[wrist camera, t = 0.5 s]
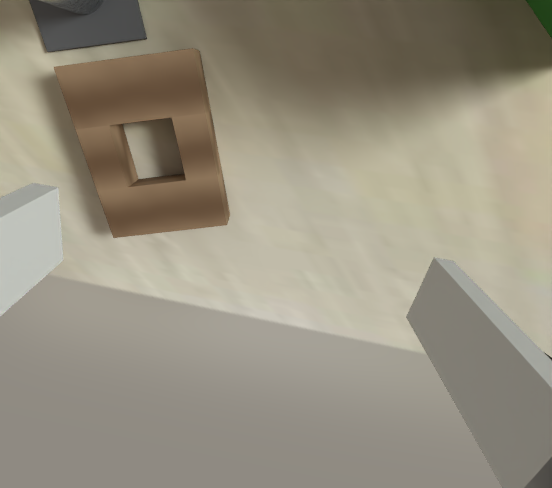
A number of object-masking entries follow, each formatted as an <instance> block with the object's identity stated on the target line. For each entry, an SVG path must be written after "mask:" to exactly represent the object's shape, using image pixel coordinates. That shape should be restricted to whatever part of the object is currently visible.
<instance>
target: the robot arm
mask: <svg viewBox="0 0 552 488" xmlns="http://www.w3.org/2000/svg"><path fill="white" fill-rule="evenodd" d="M62 261H63V249H62V235H61V220H60V206H59V192H58V187H54V186H48V185H43V184H38V183H32V184H30V185H27V186H25V187H23V188H21V189H18V190H16V191H14V192H12V193H10V194H7V195H5V196H3V197H1V198H0V316H1V315H2V314H3V313H5V311H7V310H8V309H9V308H10V307H11V306H12V305H13V304H15V303H16V302H17V301H18V300H19V299H20V298H21V297H23V295H25V294H26V293H27V292H28V291H29V290H30V289H32V288H33V287H34V286H35V285H36V284H37V283H38V282H39V281H41V280H42V279H43V278H44V277H45V276H46V275H47V274H48V273H50V272H51V271H52V270H53V269H54V268H55V267H56V266H57V265H59V264H60V263H61V262H62ZM407 319H408V321H409V323H410V325H411V326H412V328H413V330H414V332H415V333H416V335H417V337H418V339H419V341H420V342H421V344H422V346H423V348H424V349H425V351H426V353H427V355H428V357H429V358H430V360H431V362H432V364H433V365H434V367H435V369H436V371H437V372H438V374H439V376H440V378H441V380H442V381H443V383H444V385H445V387H446V389H447V390H448V392H449V394H450V395H451V397H452V399H453V401H454V403H455V405H456V406H457V408H458V410H459V412H460V413H461V415H462V417H463V419H464V420H465V422H466V424H467V426H468V428H469V429H470V431H471V433H472V435H473V436H474V438H475V440H476V442H477V444H478V445H479V447H480V449H481V450H482V453H483V454H484V456H485V458H486V460H487V461H488V463H489V465H490V467H491V468H492V470H493V472H494V474H495V475H496V477H497V479H498V481H499V483H500V485H501V486H502V488H552V358H551V357H550V356H549V355H547V354H546V353H544V352H543V351H542V350H541V349H540V348H539V347H538V346H537V345H536V344H535V343H534V342H533V341H532V340H531V339H530V338H529V337H528V336H527V335H526V334H525V333H524V332H523V331H522V330H521V329H520V328H519V327H518V326H517V325H516V324H515V323H514V322H513V321H512V320H511V319H510V318H509V317H508V316H507V315H506V314H505V313H504V312H503V311H502V310H501V309H500V308H499V307H498V306H497V304H496V303H495V302H494V301H493V300H492V299H491V298H490V297H489V296H488V295H487V294H486V293H485V292H484V291H483V290H482V289H481V288H480V287H479V286H478V285H477V284H476V283H475V282H474V281H473V280H472V279H471V278H470V277H469V276H468V275H467V274H466V273H465V272H464V271H463V270H462V269H461V268H460V267H459V266H458V265H457V264H456V263H455V262H454V261H451V260H446V259H440V258H435V257H434V258H433V261H432V263H431V265H430V267H429V269H428V271H427V273H426V276H425V278H424V280H423V282H422V284H421V286H420V289H419V291H418V293H417V295H416V297H415V299H414V301H413V304H412V306H411V308H410V310H409V312H408V314H407Z"/></svg>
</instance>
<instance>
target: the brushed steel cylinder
mask: <svg viewBox="0 0 552 488" xmlns="http://www.w3.org/2000/svg"><path fill="white" fill-rule="evenodd" d="M39 1H42V2H45V3H48V4H51V5H54V6H56V7H59V8H62V9H65V10H68V11H71V12H74V13H77V14H81V15H88V14H91V13H93V12H95V11H96V10H98V9H99V7H100V6H101V4H102V2H103V0H39Z"/></svg>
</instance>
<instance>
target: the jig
mask: <svg viewBox="0 0 552 488" xmlns="http://www.w3.org/2000/svg"><path fill="white" fill-rule="evenodd" d="M54 70H55V73H56V76H57V78H58V81H59V84H60V87H61V90H62V93H63V96H64V98H65V101H66V104H67V107H68V110H69V113H70V115H71V118H72V121H73V124H74V127H75V130H76V133H77V135H78V138H79V141H80V144H81V147H82V150H83V152H84V155H85V158H86V161H87V164H88V167H89V170H90V172H91V175H92V178H93V181H94V184H95V187H96V189H97V192H98V195H99V198H100V201H101V204H102V207H103V209H104V212H105V215H106V218H107V221H108V224H109V227H110V229H111V232H112V235H113V238H117V237H126V236H135V235H144V234H152V233H161V232H170V231H179V230H187V229H196V228H205V227H214V226H222V225H227V223H228V220H229V216H230V212H229V207H228V201H227V196H226V191H225V185H224V180H223V174H222V169H221V164H220V158H219V153H218V147H217V142H216V137H215V131H214V126H213V120H212V115H211V110H210V104H209V99H208V93H207V88H206V83H205V77H204V72H203V66H202V61H201V56H200V51H198V50H196V49H193V48H192V49H184V50H177V51H170V52H162V53H155V54H147V55H140V56H132V57H125V58H117V59H110V60H102V61H95V62H87V63H80V64H72V65H65V66H58V67H54ZM163 118H172V122H173V126H174V130H175V135H176V139H177V143H178V148H179V152H180V156H181V160H182V165H183V169H184V173H185V174H179V175H171V176H162V177H154V178H146V179H138V176H137V173H136V169H135V166H134V162H133V159H132V155H131V152H130V149H129V145H128V142H127V138H126V135H125V132H124V128H123V125H122V124H124V123H132V122H140V121H147V120H155V119H163Z"/></svg>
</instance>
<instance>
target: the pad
mask: <svg viewBox="0 0 552 488" xmlns="http://www.w3.org/2000/svg"><path fill="white" fill-rule="evenodd" d="M29 1H30V4H31V7H32V10H33V12H34V15H35V18H36V21H37V24H38V27H39V29H40V32H41V35H42V38H43V41H44V44H45V46H46V49H47V52H53V51H61V50H68V49H76V48H83V47H90V46H98V45H105V44H112V43H120V42H127V41H135V40H142V39H147V37H146V33H145V29H144V25H143V21H142V16H141V12H140V8H139V4H138V0H103V2H102V4H101V6H100V7H99V9H98V10H96V11H95V12H93V13H91V14H88V15H81V14H77V13H74V12H71V11H68V10H65V9H62V8H59V7H56V6H54V5H51V4H48V3H45V2H42V1H39V0H29Z"/></svg>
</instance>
